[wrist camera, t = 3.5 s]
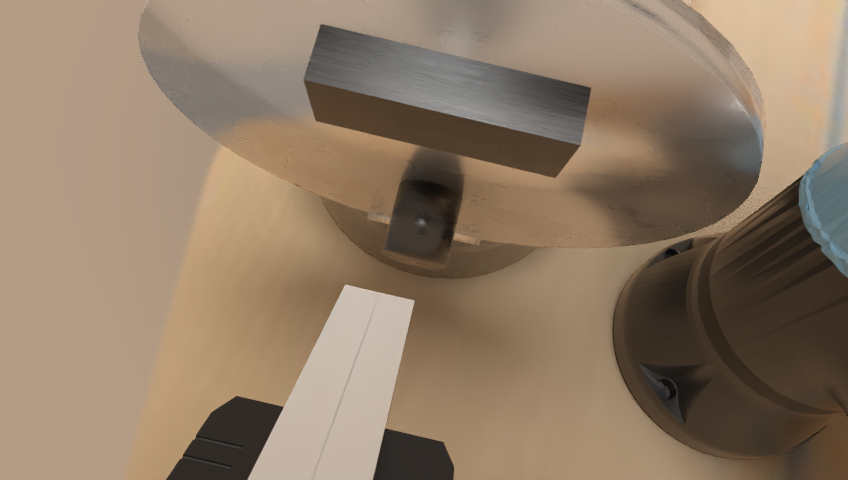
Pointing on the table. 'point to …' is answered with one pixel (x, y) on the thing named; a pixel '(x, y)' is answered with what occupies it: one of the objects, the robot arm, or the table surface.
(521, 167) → the cooker lid
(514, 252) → the cooker pot
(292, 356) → the table surface
